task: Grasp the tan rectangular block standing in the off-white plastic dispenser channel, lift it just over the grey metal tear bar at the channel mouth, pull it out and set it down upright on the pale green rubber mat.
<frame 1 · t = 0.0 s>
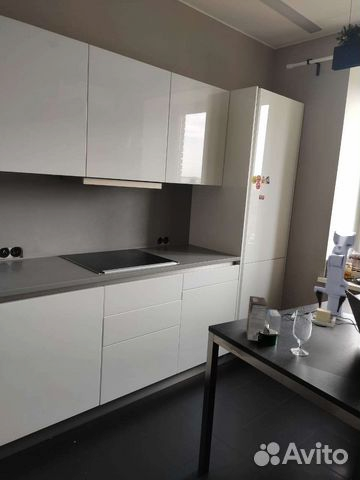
hand: (328, 309, 162), 10 cm above the table, fingers open, 7 cm apart
medicine box: (272, 331, 159), on the table
coffee box: (253, 336, 152), on the table
tan rectangular block: (322, 322, 174), resting in dispenser
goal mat: (301, 317, 178), on the table
dispenser: (322, 322, 174), on the table
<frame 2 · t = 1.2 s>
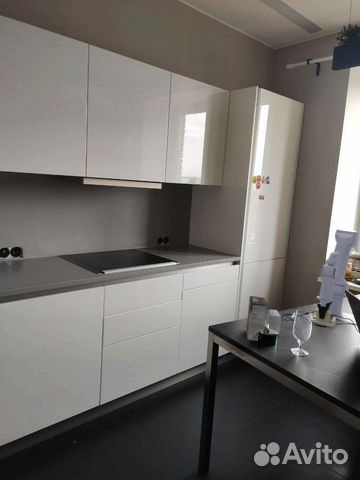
hand: (322, 316, 173), 3 cm above the table, fingers open, 7 cm apart
nothing on the table moved.
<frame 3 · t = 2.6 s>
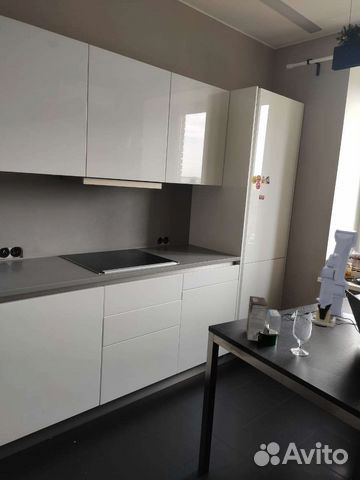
hand: (322, 318, 173), 2 cm above the table, fingers closed on tan rectangular block, 3 cm apart
tan rectangular block: (322, 322, 174), resting in dispenser, touching gripper
everything else where it was.
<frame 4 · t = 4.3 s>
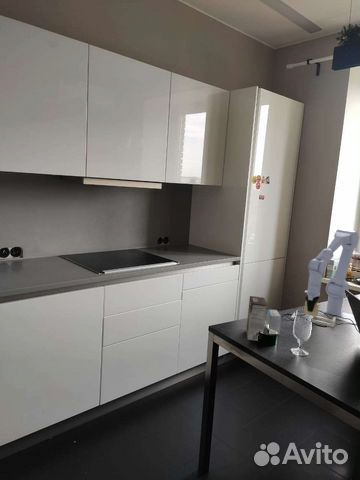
hand: (310, 310, 176), 4 cm above the table, fingers closed on tan rectangular block, 3 cm apart
tan rectangular block: (310, 314, 176), point 2 cm above the table, touching gripper
everything else where it was.
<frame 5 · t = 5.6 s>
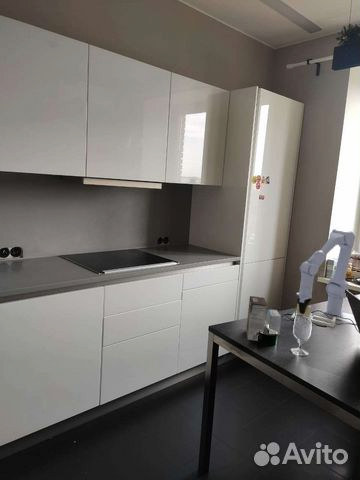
hand: (302, 312, 178), 2 cm above the table, fingers closed on tan rectangular block, 3 cm apart
tan rectangular block: (302, 316, 178), resting on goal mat, touching gripper
everything else where it was.
when the fingers open (2 cm above the table, at t = 6.2 s): tan rectangular block stays where it is, resting on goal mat.
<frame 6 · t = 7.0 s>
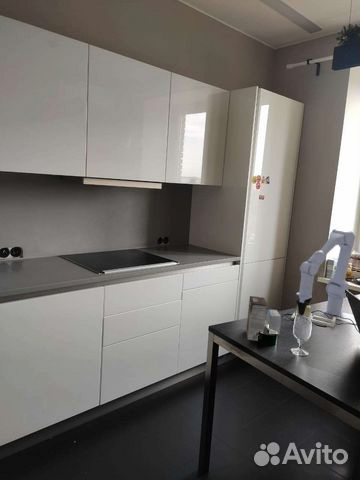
hand: (302, 312, 178), 2 cm above the table, fingers open, 7 cm apart
tan rectangular block: (302, 316, 178), resting on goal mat
everything else where it was.
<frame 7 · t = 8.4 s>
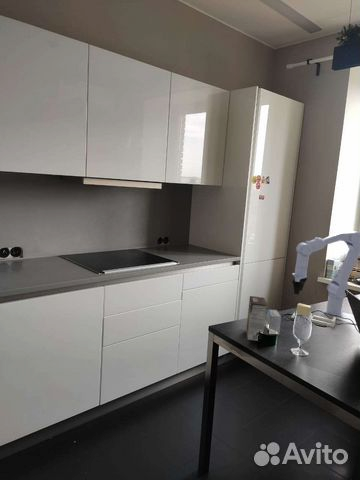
hand: (298, 292, 184), 10 cm above the table, fingers open, 7 cm apart
nothing on the table moved.
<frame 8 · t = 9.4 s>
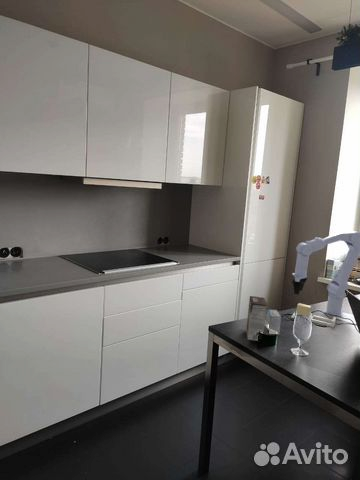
hand: (298, 292, 184), 10 cm above the table, fingers open, 7 cm apart
nothing on the table moved.
at the end: tan rectangular block inside the target area (0.6 cm from its centre), resting on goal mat; tan rectangular block tilted 0°; the gripper is holding nothing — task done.
